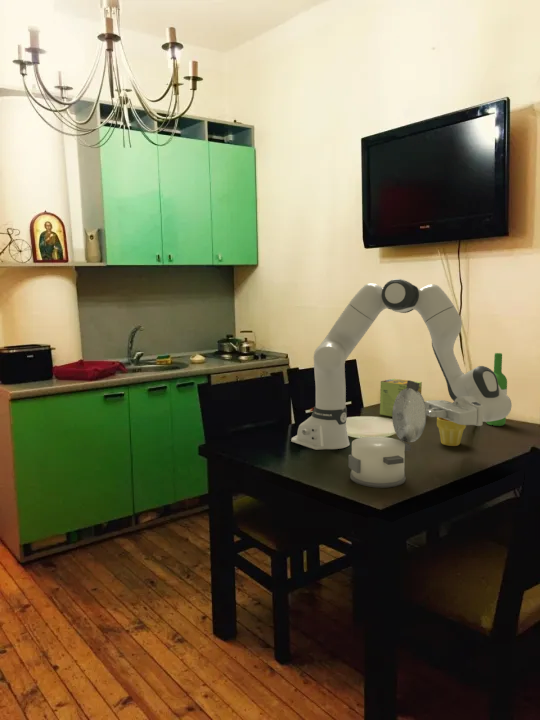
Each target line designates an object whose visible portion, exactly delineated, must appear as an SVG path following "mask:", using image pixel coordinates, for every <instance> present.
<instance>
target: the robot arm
mask: <svg viewBox="0 0 540 720" xmlns="http://www.w3.org/2000/svg"><path fill="white" fill-rule="evenodd" d="M385 309H388V310H391V311H393V312H394V313H395V312H396V313H401V314H406V313H407V314H408V313H410V312H412V311H414V310H415V311H416V312H417V313H418V314H419V315H420V316H421V318H422V320H423V321H424V324H425V325H426V328H427V330H428V331H429V335H430V339H431V347H432V350H433V354H434V356H435V358H436V361H437V363H438V366H439V368H440V370H441V373H442V375H443V377H444V379H445V381H446V386H447V391H448V394H449V397H450V399H451V400H452V401H453V402H451V401H447V400H443V399H433V400H429V399H428V400H424V401H425V405H426V417H427V416H428V417H430V418H437V417H441V418H444V419H446V420H449V421H452V422H454V423H457V424H460V425H466V426H475V427H476V426H477V427H481V426H483V422H485V423H486V422H489V421H496V420H500V419H503V418H505V417H506V418H507V417H508V416H509V414H510V413H511V411H512V407H513V406H512V400H511V398H510V396H509V395H506V394H505V393H504V392H503V391H502V390H501V388H500V386H499V385H498V381H497V377H496V375H495V373H494V370H492V369H491V368H489V367H488V366H484V365H479V366H476V367H474V368H472V369H471V370H469V371H467V372H466V373H464V372H463V371H462V369H461V367H460V365H459V363H458V360H457V358H456V355H455V352H454V347H455V343H456V340H457V338H458V336H459V334H460V332H461V331H462V326H463V322H462V321H463V320H462V318H461V316H460V314H459V312H458V309H457V308H456V306H455V305H454V303H453V301H452V300H451V298H450V297H449V296H448V295H447V294H446V292H445V291H444V290H443V289H442V287H440V286H439V285H437V284H427V285H424V286H423V287H421V288H418V286H416V285H414V284H412V283H411V282H410V281H408V280H405V279H402V278H394V279H391V280H389V281H387V282H386V283H385V284H384V286H383V287H382V286H381V285H379V284H377V283H372V282H369V283H367V284H364V285H363V286H362V287H361V288H360V289H359V290H358V291H357V292H356V294H355V295H354V296H353V297H352V299H350V301H349V303H347V306H346V307H345V309H344V310H343V311H342V312H341V314H340V316H339V317H338V318H337V320H336V321H335V323H334V325H332V327H331V328H330V330H329V332H328V333H327V335H326V336H325V337H324V338H323V341H322V342H321V343H320V344H319V345H318V346H317V347H316V349H315V351H314V353H313V369H314V370H313V371H314V381H315V382H314V383H315V406H313V407H311V408H310V409H309V412H310V413H311V412H312V413H311V416H309V417H307V419H305V420H304V421H303V422H301V423H300V424H299V425H298V428H297V434H296V435H295V436H293V437H291V439H290V440H291V441H290V442H292V443H295V444H297V445H301V446H303V447H306V448H309V449H313V450H317V451H318V450H338V449H339V450H340V449H344V448H347V447H349V446H350V445H351V443H350V440H349V439H350V438H349V436H348V430H347V419H348V417H347V415H348V412H347V411H348V410H347V409H348V408H347V406H346V399H347V397H346V395H347V394H346V393H347V392H346V390H347V389H346V387H347V386H346V372H345V371H346V368H345V365H346V364H345V363H346V360H347V359H348V358H349V356H350V355H351V353H352V352H353V350H355V348H356V346H357V345H358V344H359V343H360V341H362V338H363V337H364V336H365V334H366V333H367V331H368V330H369V329H370V327H371V326H372V325H373V324H374V322H375V320H376V319H377V318H378V316H379V315H380V314H381V312H382V311H384V310H385ZM462 372H463V373H464V374H463V373H462Z"/></svg>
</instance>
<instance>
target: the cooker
mask: <svg viewBox="0 0 540 720" xmlns="http://www.w3.org/2000/svg"><path fill="white" fill-rule="evenodd" d="M411 447H412V446H411V444H409V443H408V442H404V441H402V440H401V439H400V440H399V439H397V438H393V437H386V436H363V437H358V438H355V439H354V440H352V441H351V454H348V468H349V469H350V470H351V471H349V474H350V480H351V481H352V482H354V483H355V484H357V485H360V486H364V487H368V488H379V489H381V488H382V489H384V488H385V489H387V488H394V487H399V486H401V485H403V484H404V483H405V482H406V473H405V459H406V457H405V453H406V452H408V451H411Z"/></svg>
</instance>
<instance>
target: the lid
mask: <svg viewBox="0 0 540 720" xmlns="http://www.w3.org/2000/svg"><path fill="white" fill-rule="evenodd" d="M407 380H408V379H407ZM414 381H415V380H414ZM414 381H413V380H408V382H407V388H406V389H403V390H402V391H401V392H400V393H399V394H398V395H397V397H396V399H395V402H394V406H393V412H392V419H391V420H392V426H393V429H394V432H395V434H396V436H397V437H398V438H399V439H400V440H401V441H403V442H405V443H413V442H416V441H417V440H418V439H419V438H421V436H422V435H423V432H424V430H425V427H426V423H427V415H426V405H425V401H426V400H425V398H424V396H423V395H422V392H421V393H420V392H419V391H418V389H419V383H417V382H418V381H417V382H414ZM399 439H398V440H399Z"/></svg>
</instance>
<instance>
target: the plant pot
mask: <svg viewBox="0 0 540 720" xmlns="http://www.w3.org/2000/svg"><path fill="white" fill-rule="evenodd" d="M436 427H437V428H438V433H439V437H440V442H441V445H444V446H447V447H448V446H449V447H456V446H457V447H458V446H459V445H460V444H461V441H462V437H463V434H464V433H463V432H464V430H465V429H466V427H467V425H460V424H457V423H454V422H452V421H449V420H446V419H444V418H441V417H436Z"/></svg>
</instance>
